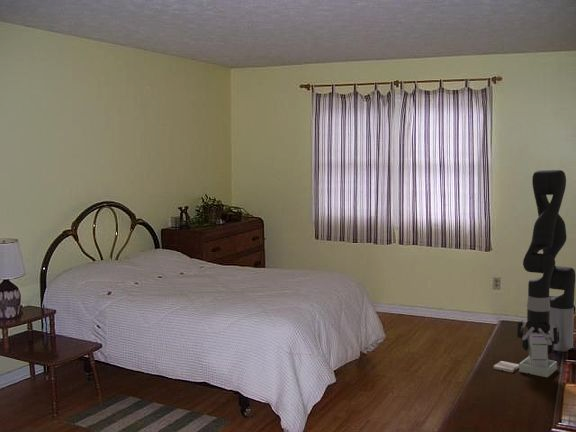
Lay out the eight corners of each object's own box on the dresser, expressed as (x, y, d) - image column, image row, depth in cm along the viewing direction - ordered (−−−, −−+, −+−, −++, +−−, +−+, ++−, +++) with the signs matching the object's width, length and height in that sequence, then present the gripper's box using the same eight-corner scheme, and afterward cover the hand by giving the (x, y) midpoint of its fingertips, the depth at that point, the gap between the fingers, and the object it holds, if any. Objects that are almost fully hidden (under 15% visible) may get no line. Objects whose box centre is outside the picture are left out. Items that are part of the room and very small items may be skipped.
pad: (501, 363, 231) (501, 360, 231) (519, 367, 226) (519, 364, 226) (493, 368, 226) (493, 365, 226) (512, 372, 221) (512, 369, 221)
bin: (529, 363, 229) (529, 356, 229) (556, 369, 223) (556, 361, 222) (519, 371, 222) (519, 363, 222) (547, 377, 215) (547, 369, 215)
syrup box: (548, 373, 219) (548, 334, 217) (530, 373, 220) (531, 333, 219) (544, 368, 225) (545, 329, 223) (527, 367, 226) (528, 329, 224)
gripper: (562, 309, 218) (561, 353, 220) (522, 303, 227) (522, 345, 229) (555, 313, 212) (554, 358, 214) (514, 307, 222) (514, 350, 223)
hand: (537, 352), depth 221 cm, fingers open, 8 cm apart
